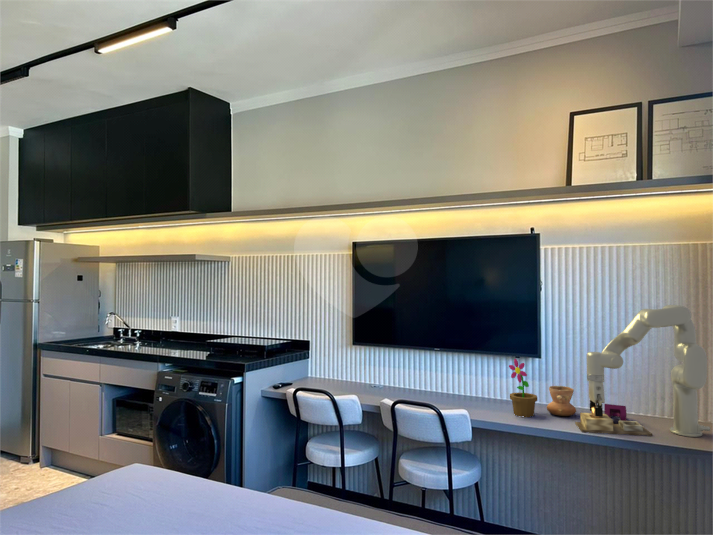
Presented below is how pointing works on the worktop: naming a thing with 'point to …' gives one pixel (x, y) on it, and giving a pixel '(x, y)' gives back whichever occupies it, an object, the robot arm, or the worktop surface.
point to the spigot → (594, 413)
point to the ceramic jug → (561, 401)
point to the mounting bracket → (616, 411)
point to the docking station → (610, 426)
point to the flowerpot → (522, 394)
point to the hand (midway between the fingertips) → (596, 413)
